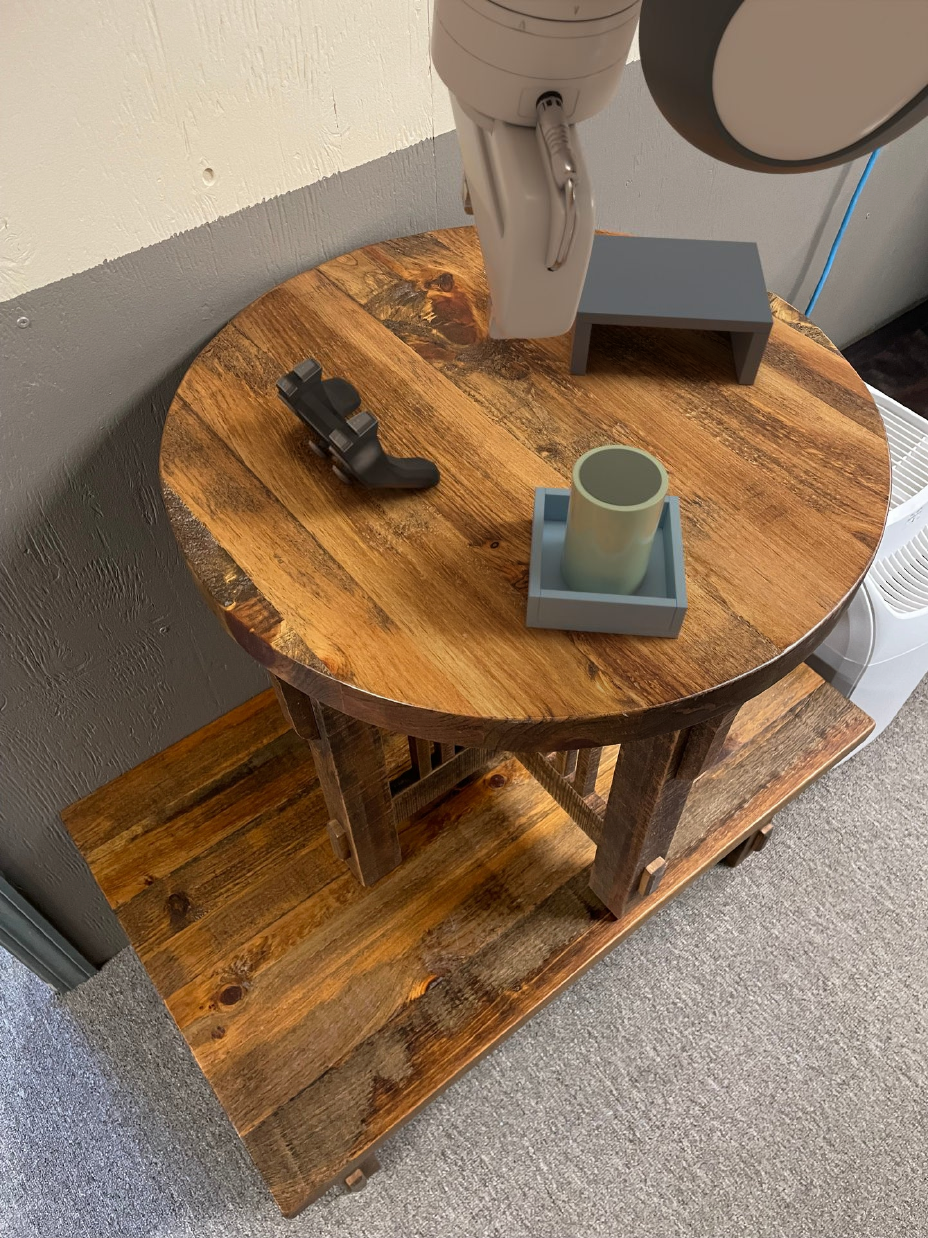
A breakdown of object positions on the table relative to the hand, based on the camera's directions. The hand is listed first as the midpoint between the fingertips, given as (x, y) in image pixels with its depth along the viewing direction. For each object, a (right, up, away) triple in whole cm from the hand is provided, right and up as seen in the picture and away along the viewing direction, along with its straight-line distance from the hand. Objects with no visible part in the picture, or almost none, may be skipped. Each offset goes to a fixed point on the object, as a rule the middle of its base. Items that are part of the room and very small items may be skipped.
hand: (488, 265), depth 51 cm
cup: (+10, -17, +18) cm, 27 cm away
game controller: (-11, -6, +28) cm, 31 cm away
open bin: (+10, -17, +19) cm, 28 cm away
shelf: (+19, +8, +39) cm, 44 cm away
